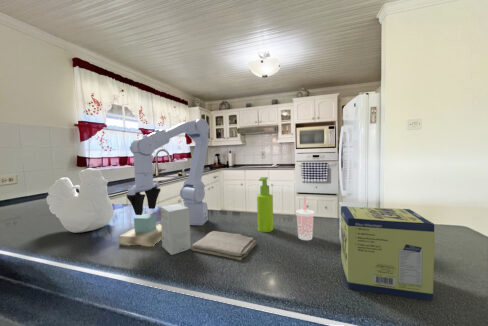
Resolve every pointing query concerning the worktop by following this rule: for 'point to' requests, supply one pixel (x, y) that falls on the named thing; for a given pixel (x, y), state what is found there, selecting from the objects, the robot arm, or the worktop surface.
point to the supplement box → (349, 206)
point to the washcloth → (225, 245)
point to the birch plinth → (141, 237)
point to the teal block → (145, 223)
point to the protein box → (387, 251)
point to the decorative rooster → (81, 202)
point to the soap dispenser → (265, 207)
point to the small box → (175, 228)
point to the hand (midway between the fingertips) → (145, 211)
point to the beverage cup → (305, 222)
